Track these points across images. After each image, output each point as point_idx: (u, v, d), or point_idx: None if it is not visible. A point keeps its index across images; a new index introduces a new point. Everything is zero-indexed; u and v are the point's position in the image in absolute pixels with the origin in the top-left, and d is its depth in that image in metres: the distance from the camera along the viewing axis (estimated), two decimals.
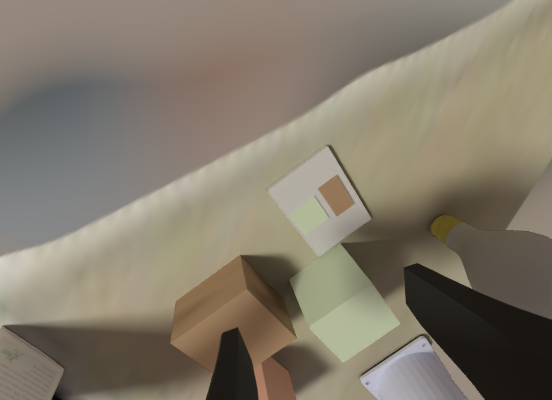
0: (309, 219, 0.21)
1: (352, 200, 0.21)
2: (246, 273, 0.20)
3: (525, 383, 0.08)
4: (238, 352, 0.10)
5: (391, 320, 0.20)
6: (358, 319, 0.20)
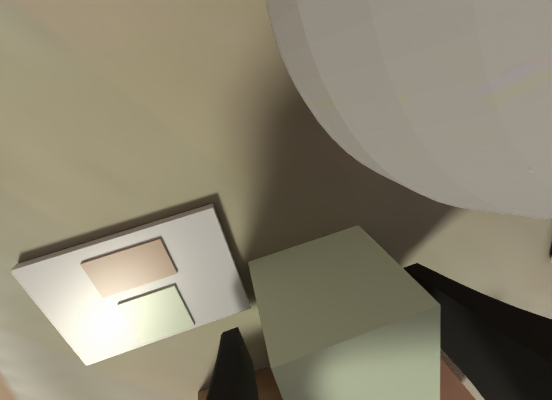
0: (166, 313, 0.12)
1: (151, 242, 0.10)
2: None
3: (525, 383, 0.08)
4: (238, 352, 0.10)
5: (413, 325, 0.08)
6: (353, 389, 0.09)
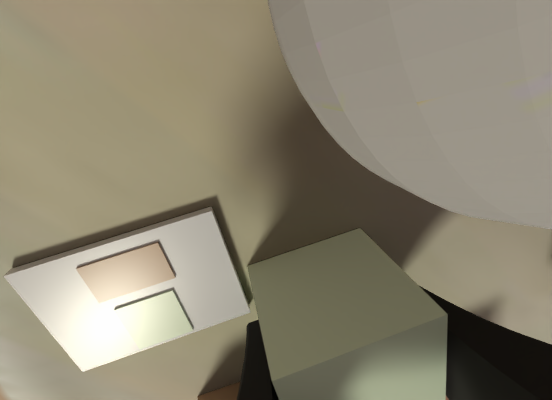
0: (163, 318, 0.11)
1: (148, 247, 0.10)
2: None
3: (490, 398, 0.07)
4: None
5: (419, 335, 0.08)
6: None
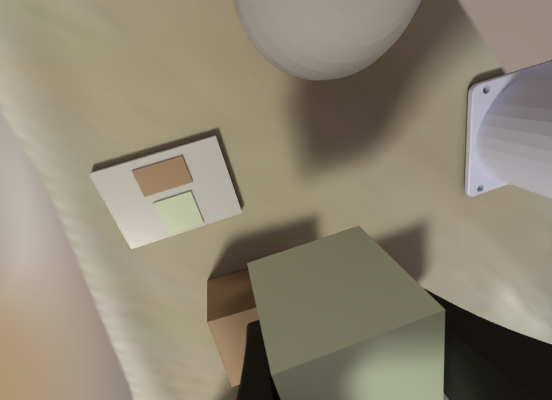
0: (184, 213, 0.17)
1: (176, 158, 0.16)
2: (213, 297, 0.18)
3: (490, 397, 0.07)
4: None
5: (417, 330, 0.08)
6: (355, 395, 0.09)
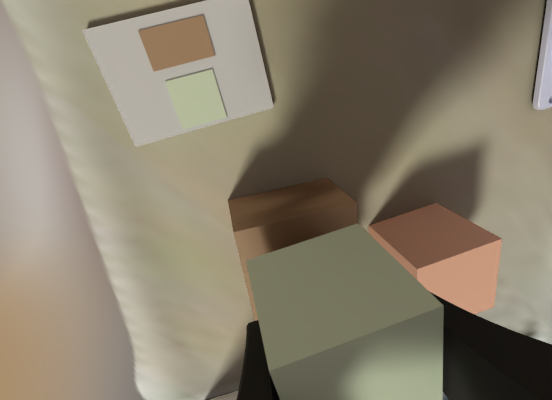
0: (203, 101, 0.14)
1: (195, 18, 0.12)
2: (237, 212, 0.15)
3: (490, 398, 0.07)
4: None
5: (415, 326, 0.08)
6: (354, 392, 0.09)
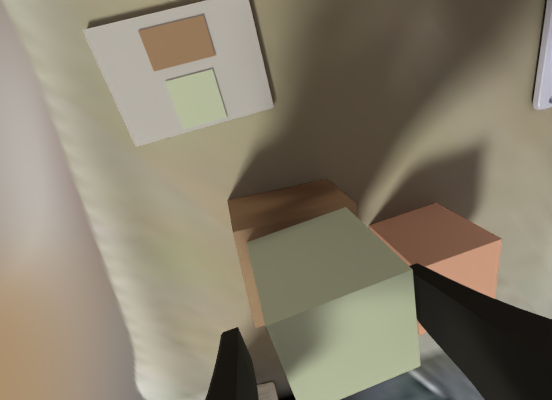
0: (203, 100, 0.14)
1: (195, 18, 0.12)
2: (237, 212, 0.15)
3: (525, 383, 0.08)
4: (238, 352, 0.10)
5: (389, 287, 0.09)
6: (339, 346, 0.10)
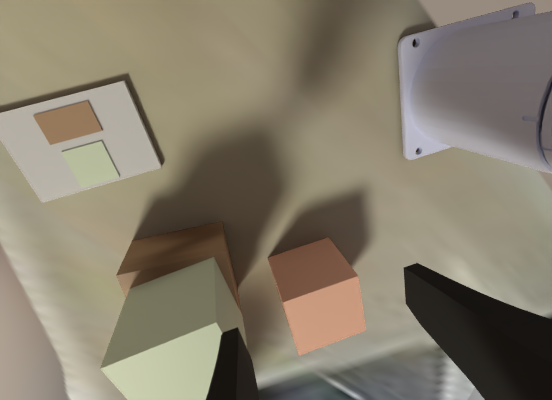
0: (97, 165, 0.17)
1: (81, 103, 0.15)
2: (131, 255, 0.18)
3: (525, 383, 0.08)
4: (238, 352, 0.10)
5: (200, 336, 0.12)
6: (172, 380, 0.13)
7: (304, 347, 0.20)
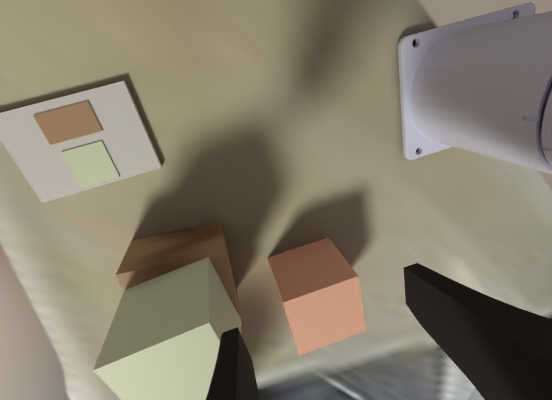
0: (97, 165, 0.17)
1: (81, 103, 0.15)
2: (131, 254, 0.18)
3: (525, 383, 0.08)
4: (238, 352, 0.10)
5: (193, 336, 0.12)
6: (165, 381, 0.13)
7: (304, 347, 0.20)
